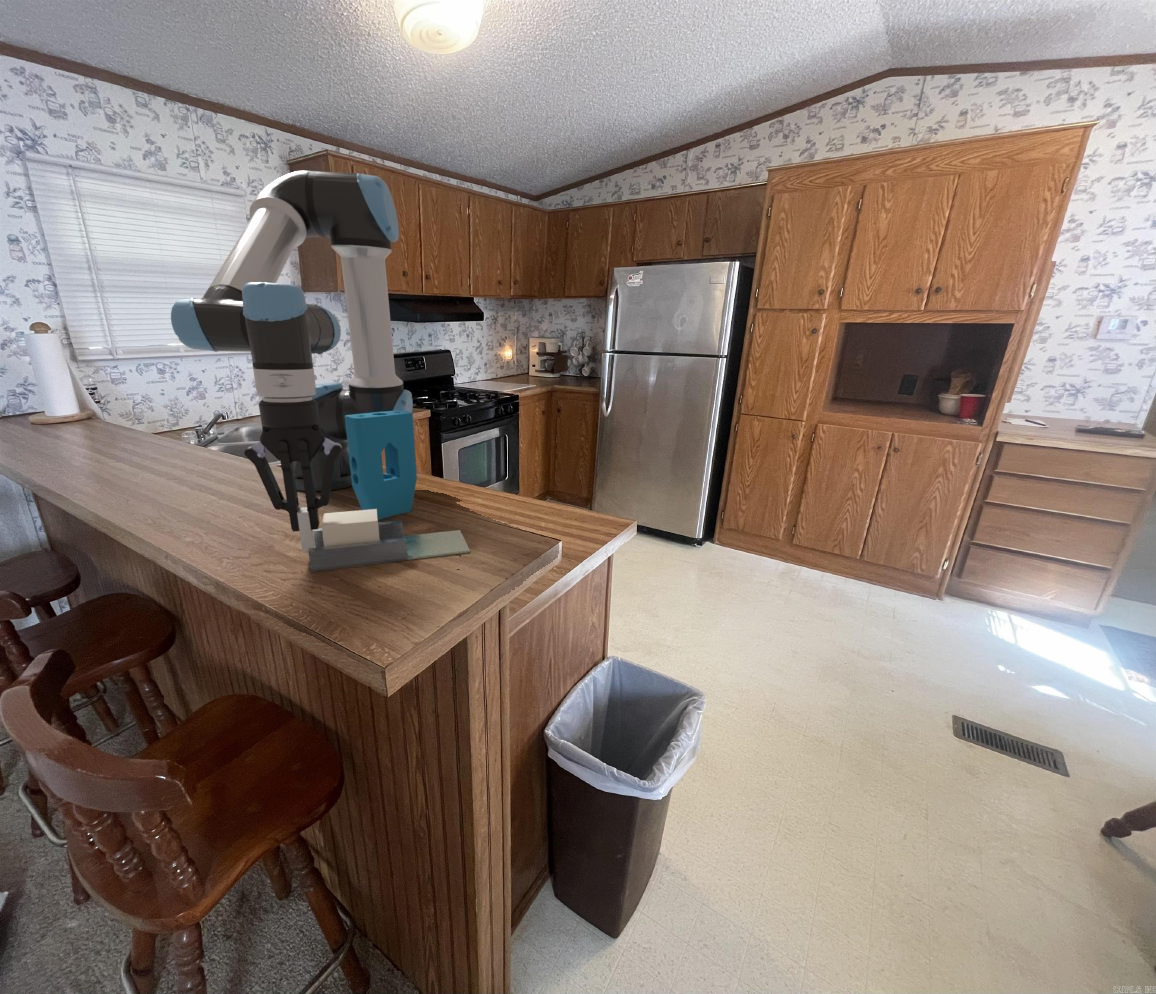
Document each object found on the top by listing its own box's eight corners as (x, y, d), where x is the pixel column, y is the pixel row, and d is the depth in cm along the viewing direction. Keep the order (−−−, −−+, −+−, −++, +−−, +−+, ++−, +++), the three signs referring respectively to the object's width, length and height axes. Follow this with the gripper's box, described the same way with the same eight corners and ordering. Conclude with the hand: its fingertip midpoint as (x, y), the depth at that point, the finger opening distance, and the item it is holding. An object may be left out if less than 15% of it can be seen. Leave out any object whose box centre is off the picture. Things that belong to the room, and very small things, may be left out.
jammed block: (328, 547, 84) (324, 513, 83) (379, 541, 87) (376, 508, 86) (326, 561, 79) (321, 525, 77) (380, 555, 82) (377, 520, 80)
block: (366, 522, 97) (356, 418, 91) (353, 516, 100) (342, 415, 94) (420, 508, 106) (414, 412, 100) (407, 503, 109) (400, 409, 103)
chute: (316, 547, 86) (313, 528, 85) (460, 532, 94) (459, 514, 93) (311, 571, 77) (308, 551, 76) (469, 552, 86) (469, 533, 85)
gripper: (228, 402, 68) (256, 563, 75) (336, 401, 72) (352, 552, 80) (241, 396, 74) (265, 544, 81) (338, 395, 79) (354, 535, 86)
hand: (308, 548), depth 80 cm, fingers closed
